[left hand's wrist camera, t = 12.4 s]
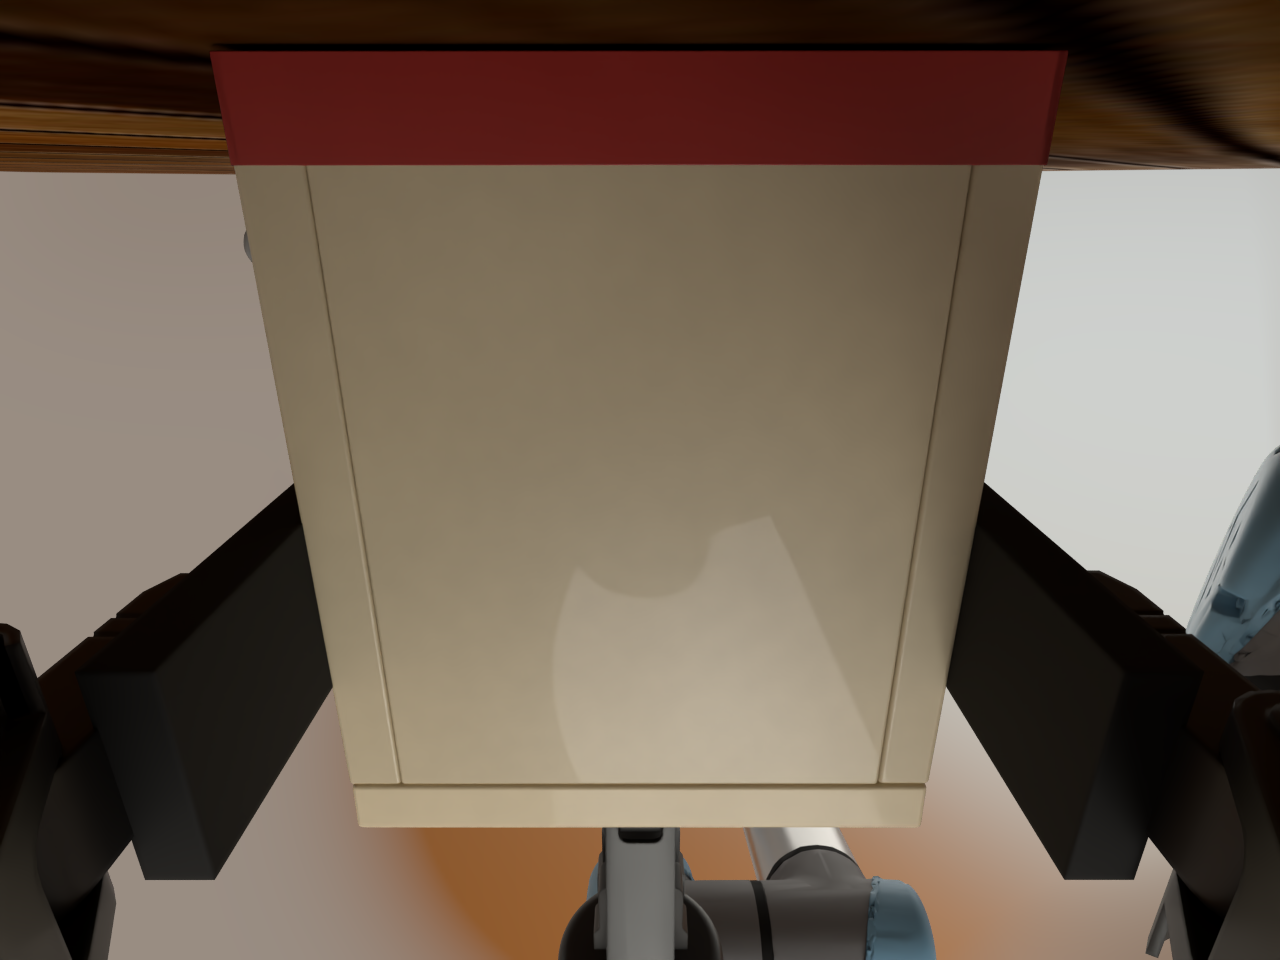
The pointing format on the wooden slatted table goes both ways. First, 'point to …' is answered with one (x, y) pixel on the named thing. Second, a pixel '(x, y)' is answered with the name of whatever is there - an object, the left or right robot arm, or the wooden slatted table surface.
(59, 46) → the wooden slatted table surface
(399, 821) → the lid
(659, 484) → the chest
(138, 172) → the wooden slatted table surface
